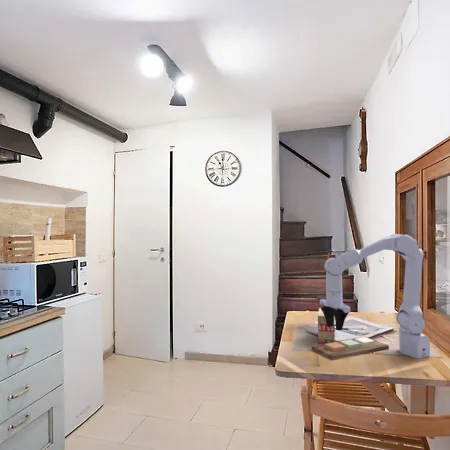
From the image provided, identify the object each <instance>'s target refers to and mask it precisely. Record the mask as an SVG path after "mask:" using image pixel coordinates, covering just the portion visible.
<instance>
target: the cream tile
mask: <svg viewBox="0 0 450 450" xmlns="http://www.w3.org/2000/svg"><path fill="white" fill-rule="evenodd" d="M361 337H362V338H359V337H355V338H356V339H355V342H358V343H360V345H362V346H369V345H374V340H375V339H373V340H371V339H372V338H370V339H368V338H369V337H368V338H366V337H367V336H365V337H364V336H361Z"/></svg>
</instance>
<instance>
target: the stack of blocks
mask: <svg viewBox="0 0 450 450" xmlns="http://www.w3.org/2000/svg"><path fill="white" fill-rule="evenodd" d="M317 312H318V313H317V334H318V336H317V345H319V344H324V343H330V342H336V341H335V339H336V335H335V334H336V333H335V332H336V331H335V327H334V325H335V322H334V323H333V326H331V327H328V326H327V323H326V319H325V316H324V314H323V312H322V310H321V307H320V308H318V311H317Z"/></svg>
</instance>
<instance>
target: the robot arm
mask: <svg viewBox="0 0 450 450" xmlns="http://www.w3.org/2000/svg"><path fill="white" fill-rule="evenodd" d="M384 250H386V251H393V252H395V253H396V254H398V255H400V256H401V258H403V260H404V261H405V265H404V266H405V267H404V271H405V272H404V281H403V282H404V283H403V296H402V303H401V304H400V306H399V309H398V312H397V314H396V317H395V318H396V322H397V324H398V325H399V329H398V332H399V333H398V342H399V344H398V345H399V349H398V350H399V351H398V352H399V353H400V354H403V355H406V356H410V357H412V358H414V359H417V360H418V359H419V360H420V359H423V358H427V357H428V358H429V357H430V356H431V349H430V347H431V346H430V344H431V341H430V339H429V337H428V336H427V335H425V334H423V333H422V332H423V331H424V330H425V327H426V325H425V323H426V322H425V320H424V317H423V315H424V313H423V311H422V309H421V307H420V300H421V288H422V286H421V285H422V270H423V260H424V258H423V254H422V252H421V250H420V248H419V245H418V241H417V240H416V239H415V238H414V237H412V236H411V235H410V234H399V233H393V234H390V235H389V236H388V235H386V236H384V237H382V238H380V239H378V240H377V241H373V242H372V243H370V244H369V245H366V246H363V247H362V248H360V249H356V248H347V251H345V252H343V253H340V254H336V255H334V256H335V257H329V259H328V258H327V260H325V262H324V265H323V268H324V269H325V271H327V272H325V276H326V278H325V291H326V292H325V295H326V300H325V299H321V300H320V301H319V305H320V306H322V307H320V308H321V310H322V312H323V314H324V316H325V319H326V323H327V326H328V327H331V326H333V323H334V324H335V325H336V330H338V331H343V328H344V324H345V321H346V318H347V316H348V315H349V313H351V306H349V305H347V304H345V303H343V273H344V271H345V270H348V269H351V268H353V267H355V266H357V265H360V264H361V263H362V262H363V260H364V259H365V258H367V257H369V256H372V255H375V254H376V253H380V252H381V251H384Z"/></svg>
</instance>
